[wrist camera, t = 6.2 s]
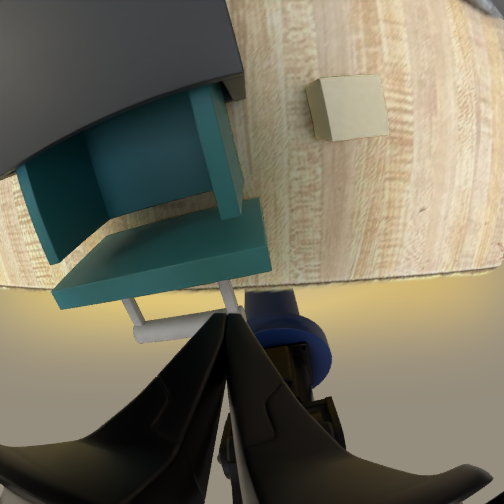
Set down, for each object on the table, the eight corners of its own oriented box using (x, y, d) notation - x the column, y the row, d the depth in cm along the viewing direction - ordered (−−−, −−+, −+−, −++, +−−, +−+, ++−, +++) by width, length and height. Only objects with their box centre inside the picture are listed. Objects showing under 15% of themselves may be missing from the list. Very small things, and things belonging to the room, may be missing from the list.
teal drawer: (276, 277, 21) (289, 354, 14) (136, 304, 22) (101, 374, 15) (215, 19, 14) (196, -39, 6) (63, 81, 14) (-12, 76, 7)
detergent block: (365, 131, 18) (391, 135, 14) (315, 138, 18) (332, 142, 14) (355, 81, 16) (379, 73, 12) (304, 86, 16) (319, 77, 13)
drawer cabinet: (245, 98, 17) (244, 72, 8) (79, 154, 18) (-13, 185, 9) (202, -60, 11) (180, -135, 2) (54, 2, 12) (-20, -25, 3)
